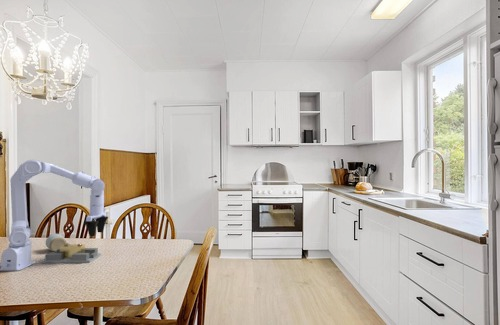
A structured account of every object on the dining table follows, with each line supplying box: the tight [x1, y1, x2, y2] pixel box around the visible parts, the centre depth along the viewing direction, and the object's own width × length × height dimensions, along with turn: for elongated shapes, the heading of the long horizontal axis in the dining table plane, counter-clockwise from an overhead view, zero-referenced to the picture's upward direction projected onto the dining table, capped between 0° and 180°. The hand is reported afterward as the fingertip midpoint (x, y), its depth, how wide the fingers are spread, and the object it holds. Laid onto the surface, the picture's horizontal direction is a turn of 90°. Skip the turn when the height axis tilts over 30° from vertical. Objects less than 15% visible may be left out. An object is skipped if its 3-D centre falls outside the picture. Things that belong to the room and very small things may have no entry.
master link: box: [60, 243, 86, 258], centre depth 123 cm, size 4×9×6 cm, turn 93°
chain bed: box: [41, 247, 102, 264], centre depth 123 cm, size 10×20×4 cm, turn 93°
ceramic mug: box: [45, 233, 70, 253], centre depth 137 cm, size 11×8×8 cm
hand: (96, 234), depth 128 cm, fingers open, 7 cm apart
